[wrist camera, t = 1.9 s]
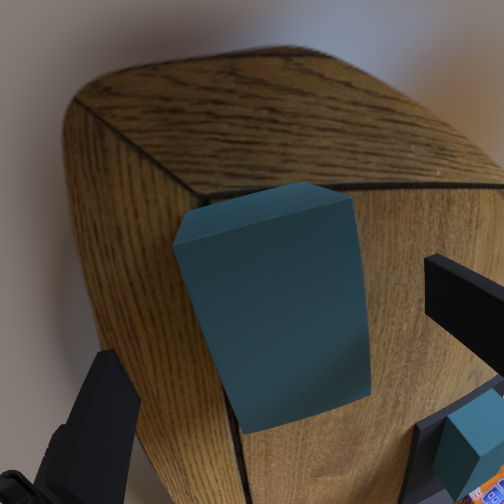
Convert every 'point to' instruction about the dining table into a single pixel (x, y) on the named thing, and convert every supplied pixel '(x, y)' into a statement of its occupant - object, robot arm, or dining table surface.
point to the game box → (488, 491)
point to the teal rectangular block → (280, 301)
